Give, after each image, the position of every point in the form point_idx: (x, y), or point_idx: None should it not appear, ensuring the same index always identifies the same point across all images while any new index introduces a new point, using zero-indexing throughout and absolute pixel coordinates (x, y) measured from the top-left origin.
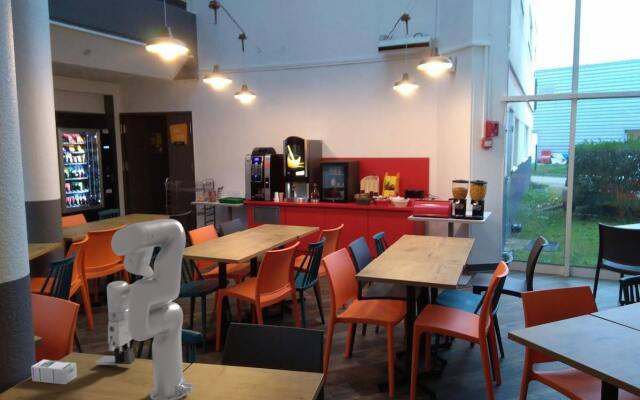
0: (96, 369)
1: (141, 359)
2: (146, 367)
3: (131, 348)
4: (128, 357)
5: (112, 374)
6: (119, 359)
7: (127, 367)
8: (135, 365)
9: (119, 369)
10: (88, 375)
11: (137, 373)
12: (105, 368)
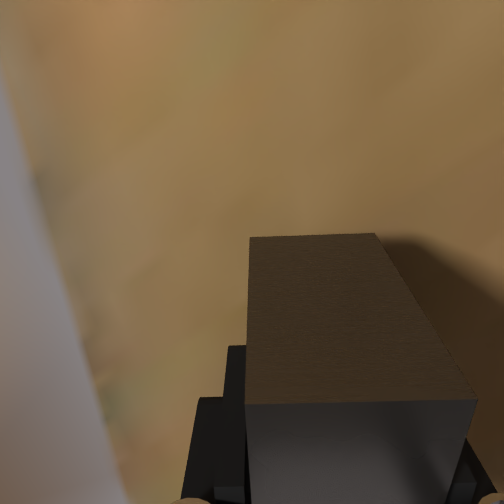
0: None
1: (70, 243)
2: (246, 8)
3: (257, 432)
4: (412, 306)
5: (480, 325)
6: None
7: None
8: (232, 214)
9: None
10: (499, 491)
11: (449, 25)
12: None
